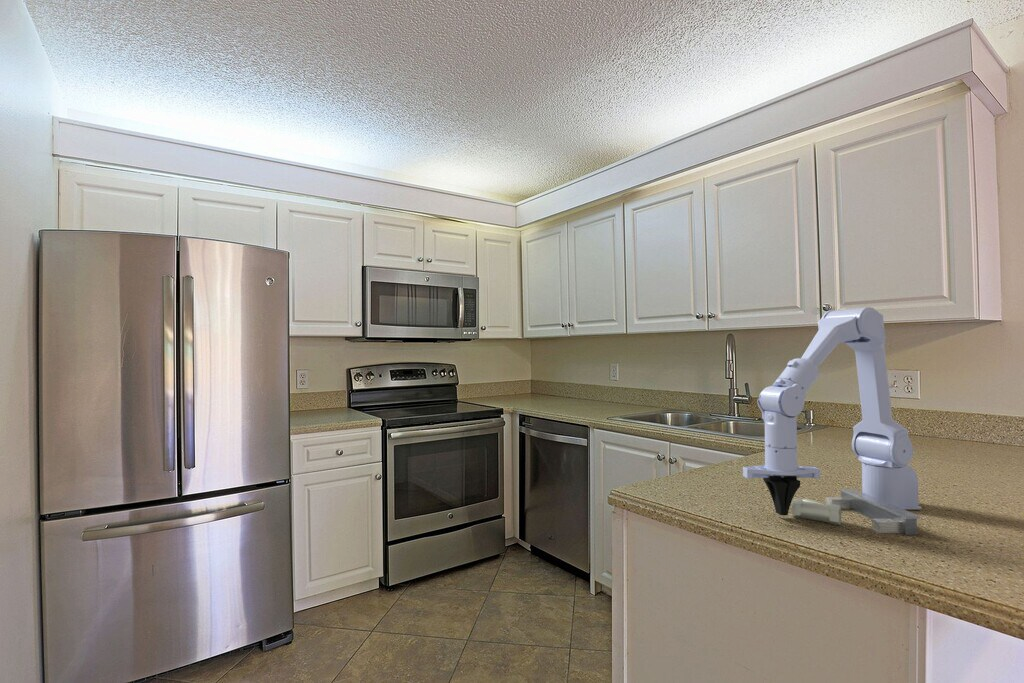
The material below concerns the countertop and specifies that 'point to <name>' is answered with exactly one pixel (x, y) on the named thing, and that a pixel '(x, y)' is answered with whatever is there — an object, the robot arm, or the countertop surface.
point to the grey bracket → (877, 512)
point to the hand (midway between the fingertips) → (781, 513)
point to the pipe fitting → (816, 511)
